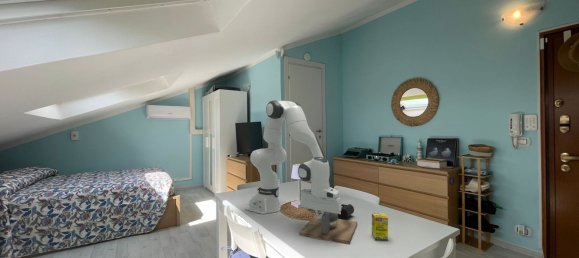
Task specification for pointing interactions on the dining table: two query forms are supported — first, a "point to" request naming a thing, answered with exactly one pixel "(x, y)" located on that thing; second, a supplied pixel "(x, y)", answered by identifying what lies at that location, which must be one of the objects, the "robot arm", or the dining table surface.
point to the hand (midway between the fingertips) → (320, 219)
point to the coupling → (328, 221)
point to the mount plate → (330, 230)
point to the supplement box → (380, 226)
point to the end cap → (346, 211)
